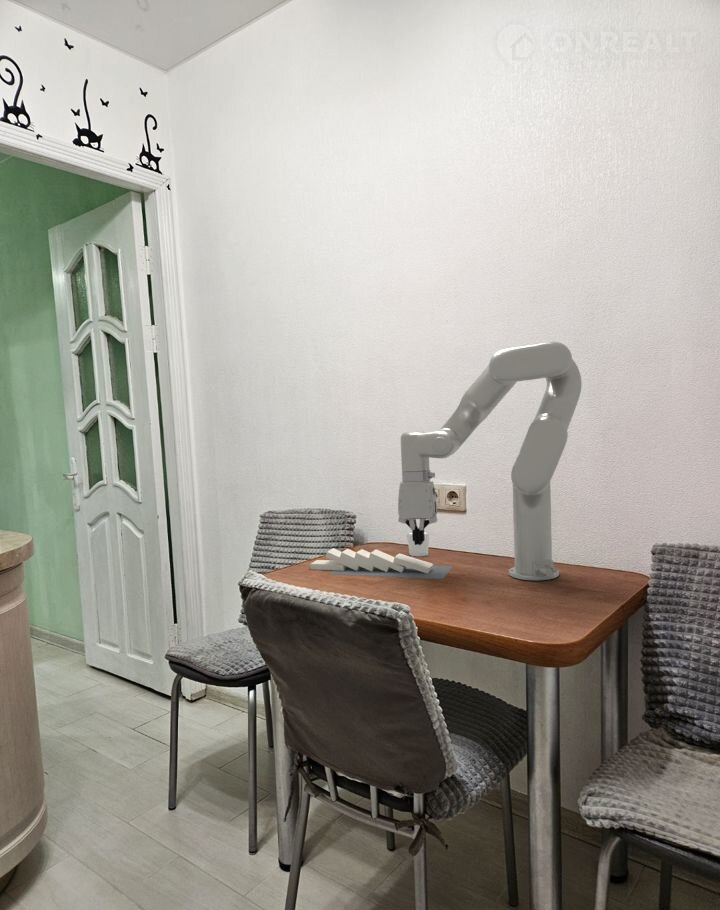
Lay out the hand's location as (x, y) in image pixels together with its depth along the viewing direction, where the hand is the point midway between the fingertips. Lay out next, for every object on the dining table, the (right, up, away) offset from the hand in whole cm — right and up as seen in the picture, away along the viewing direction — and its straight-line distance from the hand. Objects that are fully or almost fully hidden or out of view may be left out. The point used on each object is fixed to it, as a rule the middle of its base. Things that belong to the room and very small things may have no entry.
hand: (418, 543), depth 177 cm
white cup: (+2, -7, +22) cm, 23 cm away
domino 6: (+3, -7, -1) cm, 7 cm away
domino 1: (-20, -7, +7) cm, 22 cm away
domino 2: (-16, -7, +6) cm, 18 cm away
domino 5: (-4, -7, +2) cm, 8 cm away
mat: (-7, -8, +3) cm, 11 cm away
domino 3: (-12, -7, +5) cm, 14 cm away
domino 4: (-8, -7, +3) cm, 11 cm away
